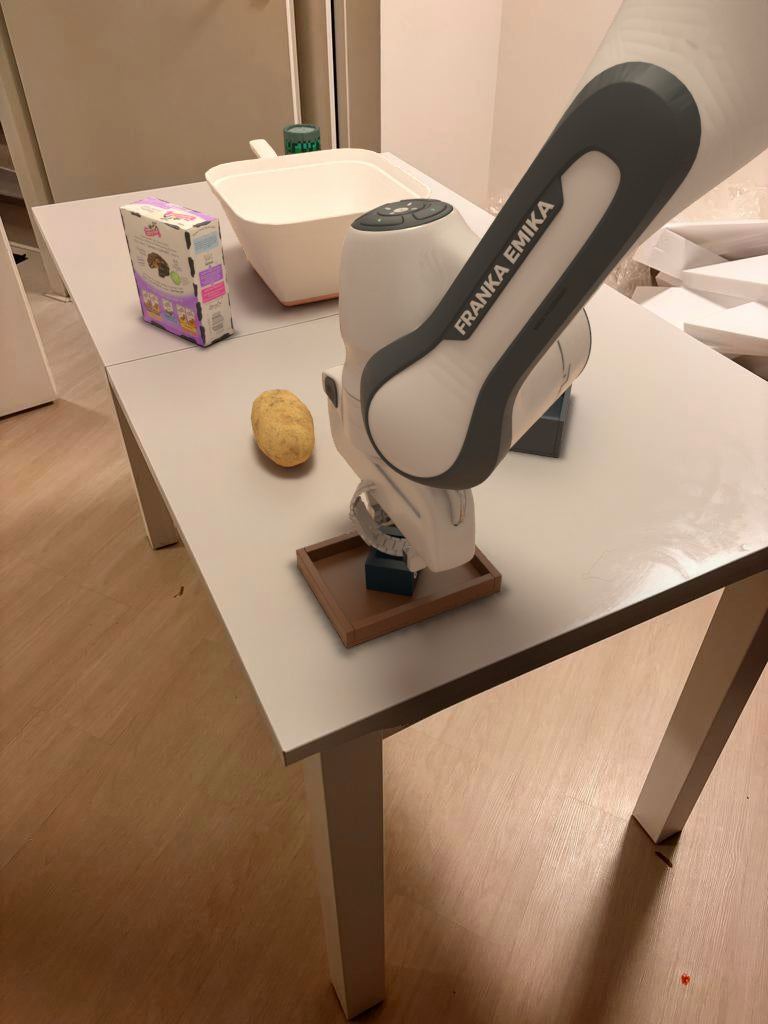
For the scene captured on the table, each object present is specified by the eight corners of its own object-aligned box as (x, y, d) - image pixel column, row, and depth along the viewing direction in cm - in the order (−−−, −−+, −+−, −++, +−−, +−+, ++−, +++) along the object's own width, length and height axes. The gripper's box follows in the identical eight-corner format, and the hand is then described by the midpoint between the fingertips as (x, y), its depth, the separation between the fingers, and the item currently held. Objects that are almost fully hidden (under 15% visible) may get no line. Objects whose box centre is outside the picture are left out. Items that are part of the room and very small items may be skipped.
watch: (433, 599, 72) (433, 504, 65) (347, 586, 74) (339, 492, 67) (445, 558, 77) (446, 465, 70) (364, 546, 78) (358, 454, 71)
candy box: (236, 333, 113) (221, 216, 103) (204, 349, 110) (185, 229, 99) (173, 306, 120) (152, 193, 109) (141, 320, 116) (116, 205, 106)
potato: (304, 421, 96) (300, 375, 92) (327, 474, 88) (324, 427, 84) (248, 430, 95) (242, 384, 90) (266, 486, 86) (261, 438, 82)
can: (298, 223, 146) (292, 135, 136) (285, 213, 150) (278, 126, 140) (328, 217, 148) (324, 130, 138) (314, 207, 152) (310, 122, 143)
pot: (260, 334, 113) (249, 229, 103) (187, 228, 144) (173, 139, 134) (441, 298, 122) (446, 198, 112) (335, 205, 153) (332, 121, 143)
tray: (438, 518, 82) (439, 503, 81) (500, 590, 74) (502, 575, 73) (296, 565, 77) (295, 549, 76) (346, 648, 69) (346, 633, 68)
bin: (569, 397, 100) (575, 363, 97) (558, 458, 90) (564, 421, 87) (465, 383, 103) (468, 348, 100) (443, 439, 93) (445, 403, 90)
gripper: (503, 470, 58) (487, 605, 66) (378, 347, 72) (379, 472, 80) (426, 495, 55) (420, 630, 64) (313, 363, 69) (321, 489, 78)
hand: (396, 541), depth 72 cm, fingers closed on watch, 5 cm apart
